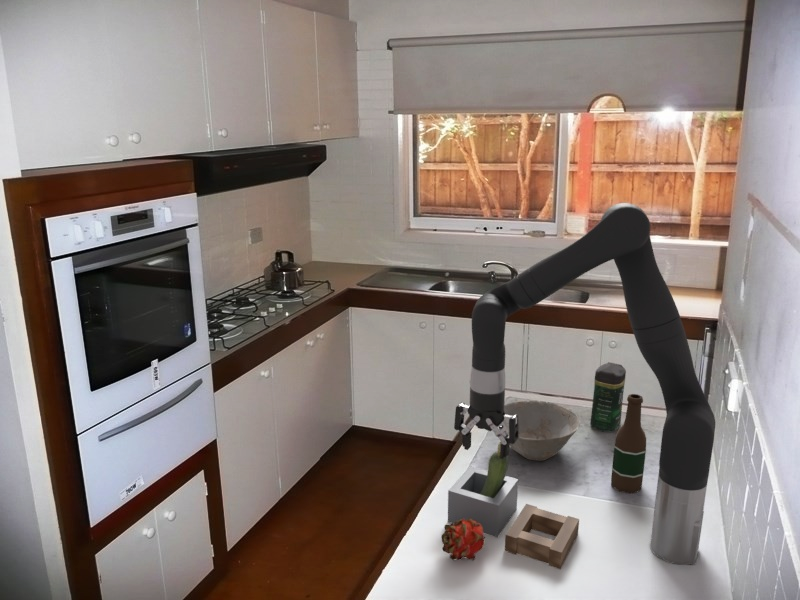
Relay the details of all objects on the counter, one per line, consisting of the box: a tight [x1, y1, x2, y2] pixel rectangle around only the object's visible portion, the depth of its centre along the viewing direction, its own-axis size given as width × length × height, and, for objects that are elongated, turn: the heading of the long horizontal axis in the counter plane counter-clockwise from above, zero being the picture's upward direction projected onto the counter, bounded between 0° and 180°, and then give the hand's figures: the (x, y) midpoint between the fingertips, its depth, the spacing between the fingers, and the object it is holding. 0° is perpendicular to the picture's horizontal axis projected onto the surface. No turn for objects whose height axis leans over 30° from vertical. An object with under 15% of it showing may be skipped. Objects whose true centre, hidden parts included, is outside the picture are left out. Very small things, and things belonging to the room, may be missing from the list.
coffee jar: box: [589, 362, 627, 433], centre depth 195 cm, size 10×8×19 cm
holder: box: [447, 465, 519, 539], centre depth 154 cm, size 12×12×8 cm
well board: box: [504, 503, 580, 570], centre depth 145 cm, size 12×13×4 cm
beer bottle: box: [610, 393, 647, 494], centre depth 164 cm, size 8×8×24 cm
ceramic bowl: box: [503, 400, 581, 462], centre depth 182 cm, size 22×23×10 cm
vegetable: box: [480, 440, 509, 498], centre depth 153 cm, size 4×4×20 cm
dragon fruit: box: [440, 518, 486, 561], centre depth 141 cm, size 8×8×12 cm
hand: (485, 452), depth 151 cm, fingers open, 8 cm apart
